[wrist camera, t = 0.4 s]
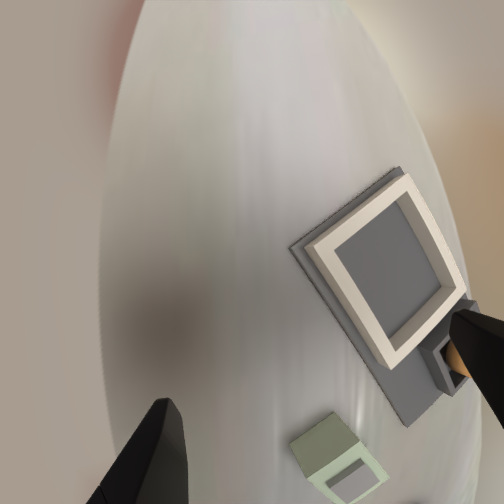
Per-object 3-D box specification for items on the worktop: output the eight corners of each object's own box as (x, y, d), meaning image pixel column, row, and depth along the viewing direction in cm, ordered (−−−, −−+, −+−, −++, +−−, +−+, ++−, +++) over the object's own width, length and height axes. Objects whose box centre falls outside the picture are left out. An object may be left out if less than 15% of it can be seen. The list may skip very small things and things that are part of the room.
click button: (479, 348, 22) (501, 355, 19) (453, 379, 22) (475, 389, 19) (468, 317, 22) (491, 322, 19) (440, 349, 21) (464, 357, 18)
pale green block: (363, 449, 23) (394, 482, 17) (323, 477, 22) (346, 516, 16) (334, 411, 22) (365, 446, 17) (288, 443, 22) (309, 485, 16)
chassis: (480, 343, 25) (498, 349, 22) (404, 425, 23) (420, 438, 20) (395, 167, 23) (414, 158, 21) (288, 248, 22) (300, 246, 19)
